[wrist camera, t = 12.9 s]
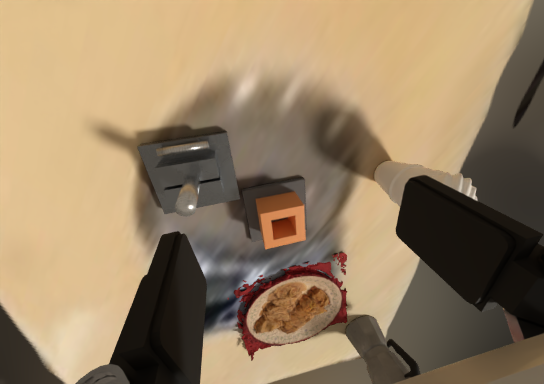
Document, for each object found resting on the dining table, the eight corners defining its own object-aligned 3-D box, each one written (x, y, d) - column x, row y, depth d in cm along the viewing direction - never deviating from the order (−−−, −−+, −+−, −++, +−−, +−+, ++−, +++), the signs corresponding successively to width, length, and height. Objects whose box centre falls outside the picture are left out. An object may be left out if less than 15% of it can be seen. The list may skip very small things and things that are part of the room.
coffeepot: (364, 339, 64) (411, 424, 48) (336, 342, 61) (377, 432, 45) (388, 303, 58) (451, 386, 42) (359, 304, 55) (415, 393, 39)
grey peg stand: (226, 131, 29) (229, 151, 20) (239, 195, 34) (246, 234, 25) (140, 144, 28) (104, 172, 19) (166, 209, 32) (147, 256, 24)
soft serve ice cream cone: (362, 157, 36) (454, 205, 22) (407, 142, 36) (526, 179, 22) (363, 199, 40) (442, 262, 26) (404, 185, 40) (503, 239, 26)
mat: (303, 177, 35) (304, 179, 34) (305, 227, 40) (306, 229, 39) (241, 189, 33) (242, 191, 33) (251, 239, 38) (251, 242, 37)
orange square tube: (294, 191, 35) (304, 205, 31) (296, 223, 38) (305, 239, 34) (255, 199, 34) (260, 214, 30) (260, 231, 37) (265, 249, 33)
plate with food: (343, 315, 57) (350, 328, 54) (247, 349, 53) (250, 365, 50) (343, 247, 46) (352, 258, 43) (222, 284, 42) (223, 299, 39)
